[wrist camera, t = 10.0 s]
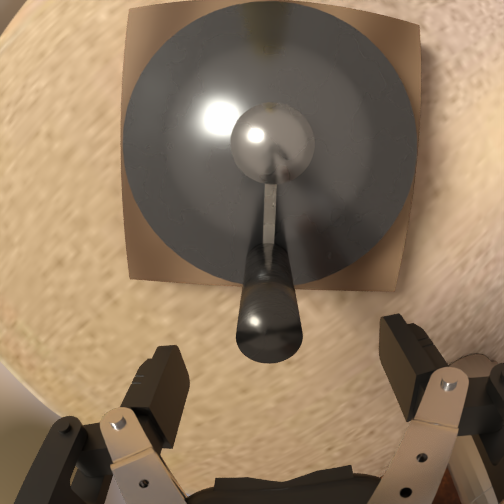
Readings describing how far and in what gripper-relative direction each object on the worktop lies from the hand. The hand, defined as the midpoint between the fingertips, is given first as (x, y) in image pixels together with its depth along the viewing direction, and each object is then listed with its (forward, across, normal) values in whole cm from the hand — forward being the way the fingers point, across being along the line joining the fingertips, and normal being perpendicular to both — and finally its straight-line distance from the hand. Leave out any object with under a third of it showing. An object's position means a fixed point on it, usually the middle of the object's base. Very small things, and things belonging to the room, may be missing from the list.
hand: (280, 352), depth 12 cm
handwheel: (+8, -1, -8) cm, 11 cm away
